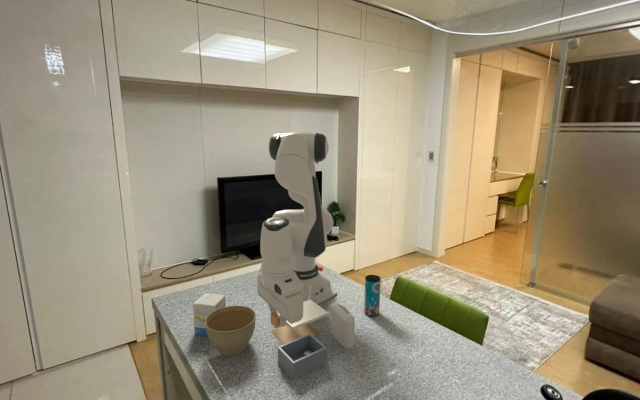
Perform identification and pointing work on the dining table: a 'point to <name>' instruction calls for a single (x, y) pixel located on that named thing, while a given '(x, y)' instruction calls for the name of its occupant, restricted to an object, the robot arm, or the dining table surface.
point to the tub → (301, 356)
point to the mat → (293, 333)
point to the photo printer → (343, 326)
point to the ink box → (206, 310)
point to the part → (307, 352)
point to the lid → (309, 315)
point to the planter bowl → (230, 328)
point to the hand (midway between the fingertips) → (278, 321)
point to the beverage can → (372, 295)
